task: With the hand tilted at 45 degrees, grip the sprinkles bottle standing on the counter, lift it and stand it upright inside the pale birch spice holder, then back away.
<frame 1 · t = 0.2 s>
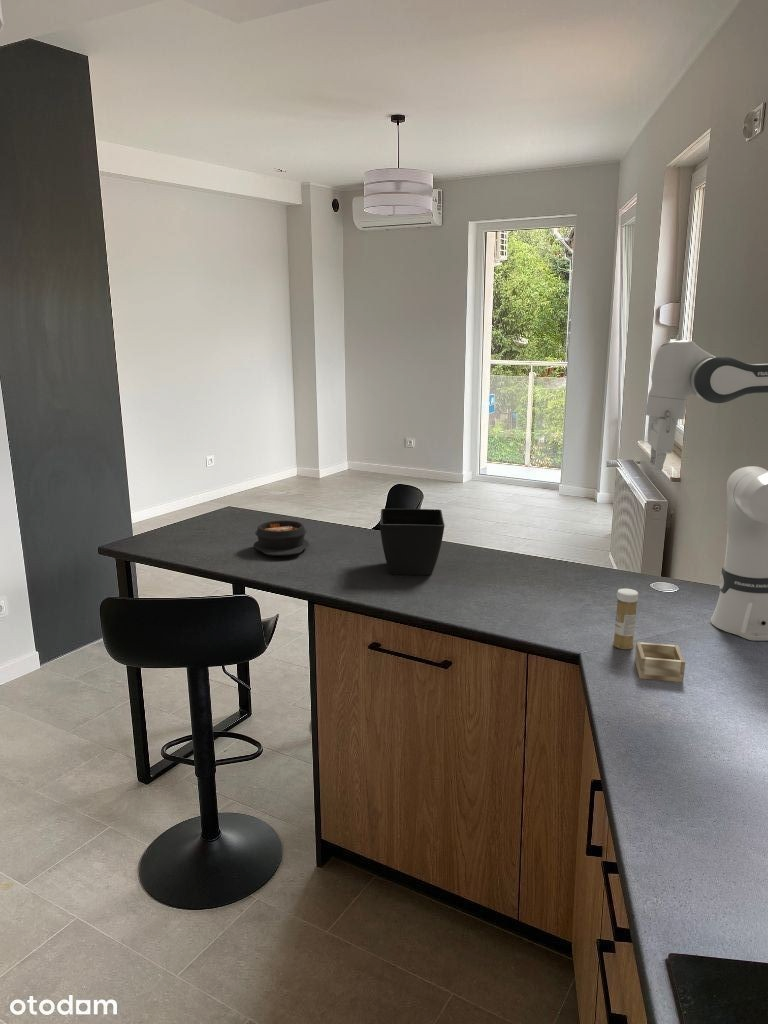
hand: (655, 467, 175), 39 cm above the worktop, tool pointing down, fingers open, 8 cm apart
casserole: (281, 550, 244), on the worktop
sprinkles bottle: (623, 647, 168), on the worktop
flower pot: (411, 569, 224), on the worktop
spice holder: (658, 671, 156), on the worktop
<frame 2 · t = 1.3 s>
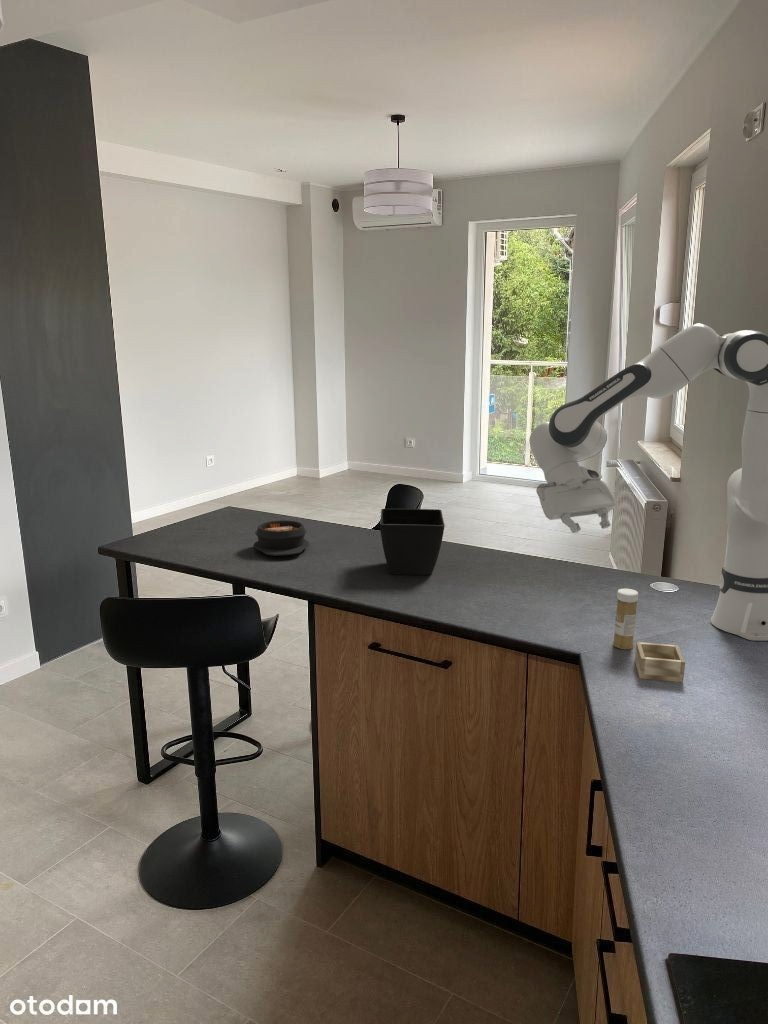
hand: (592, 529, 173), 25 cm above the worktop, tool tilted 45°, fingers open, 8 cm apart
nothing on the worktop moved.
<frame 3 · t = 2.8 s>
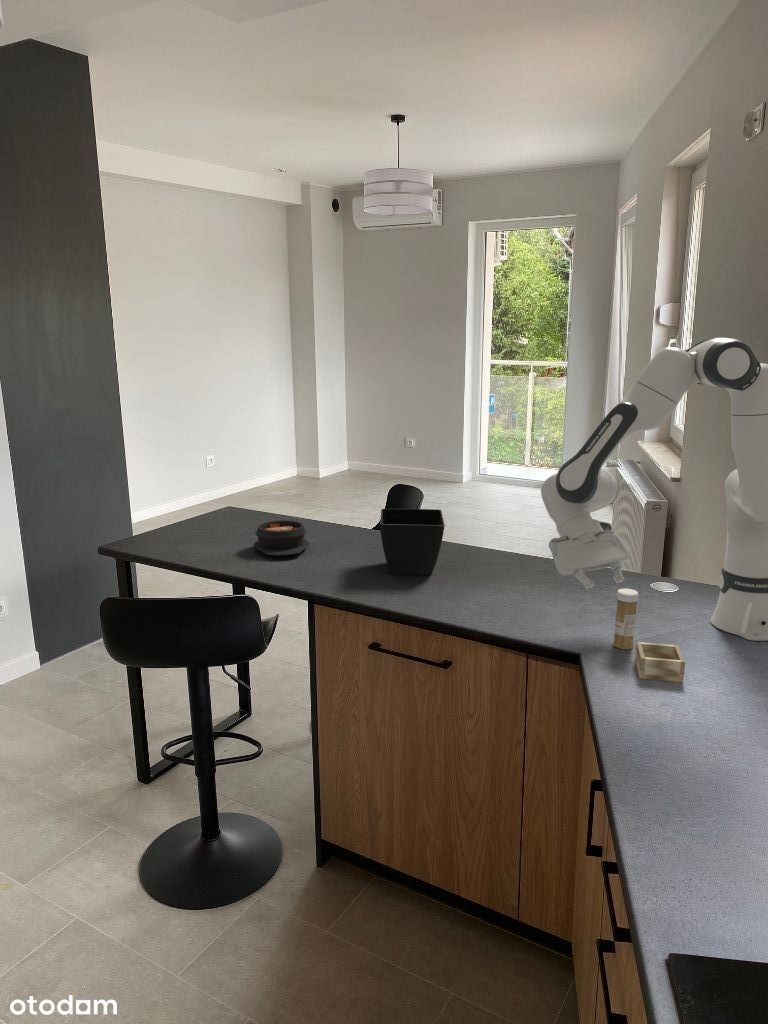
hand: (605, 584, 171), 13 cm above the worktop, tool tilted 45°, fingers open, 8 cm apart
nothing on the worktop moved.
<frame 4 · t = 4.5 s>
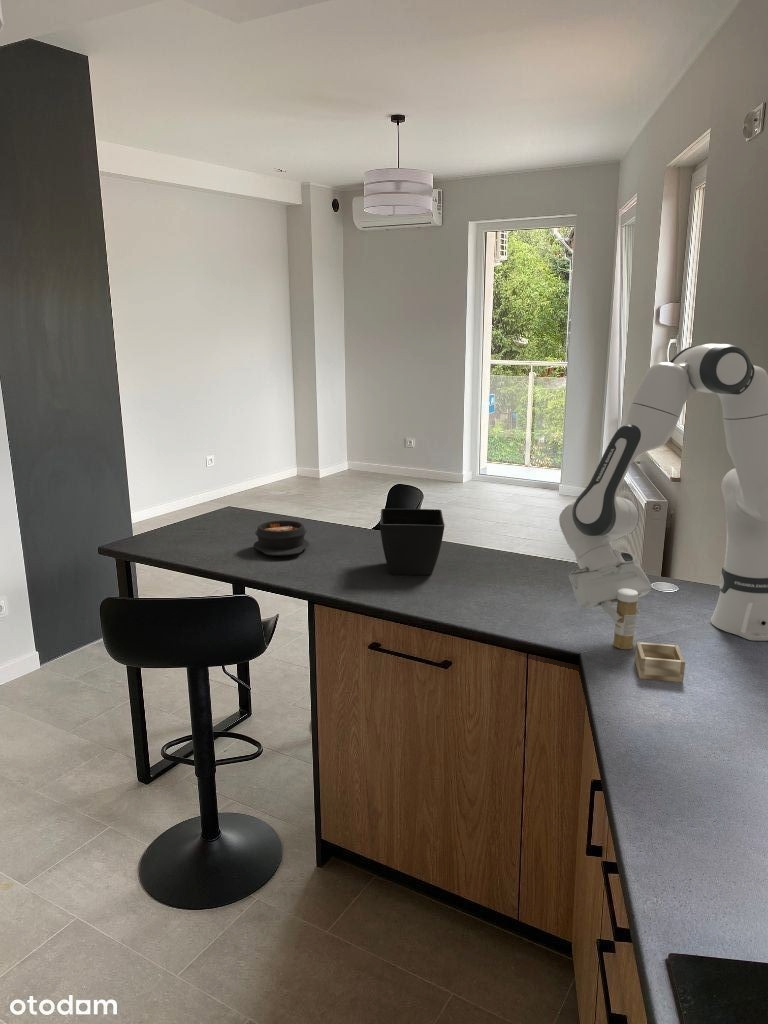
hand: (627, 617, 166), 7 cm above the worktop, tool tilted 45°, fingers closed on sprinkles bottle, 4 cm apart
sprinkles bottle: (623, 646, 168), on the worktop, touching gripper
everything else where it was.
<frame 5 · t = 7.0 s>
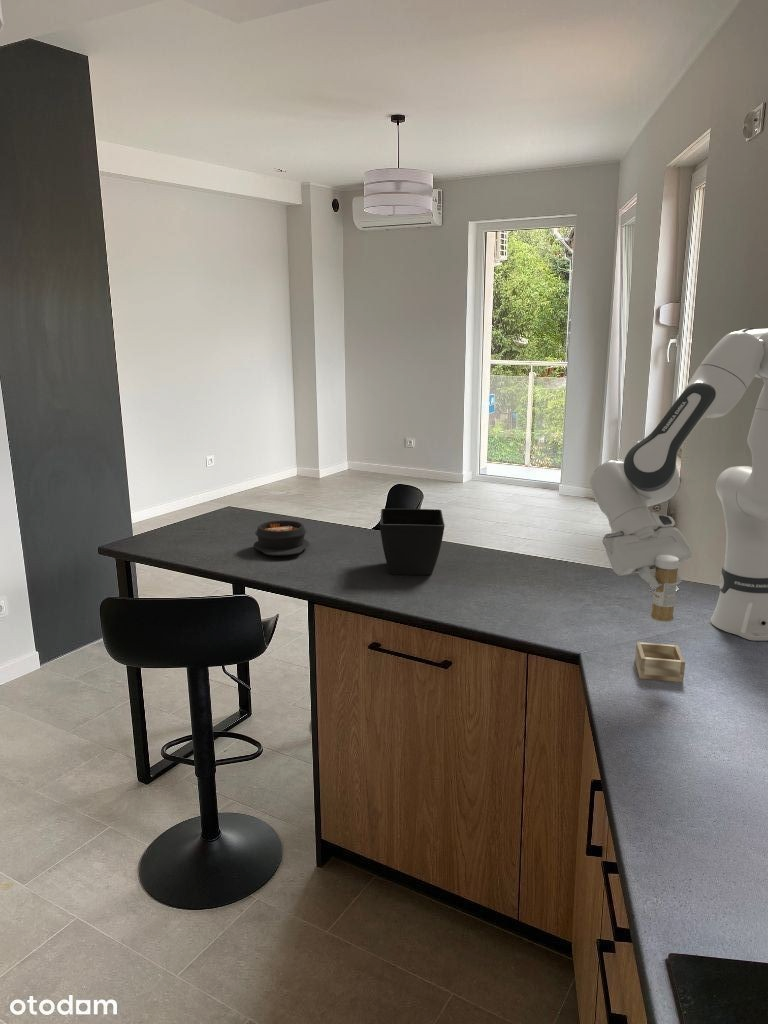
hand: (667, 585, 151), 19 cm above the worktop, tool tilted 45°, fingers closed on sprinkles bottle, 4 cm apart
sprinkles bottle: (661, 619, 153), point 12 cm above the worktop, touching gripper
everything else where it was.
when the fingers open (10 cm above the worktop, at t = 9.7 s): sprinkles bottle stays where it is, resting on spice holder.
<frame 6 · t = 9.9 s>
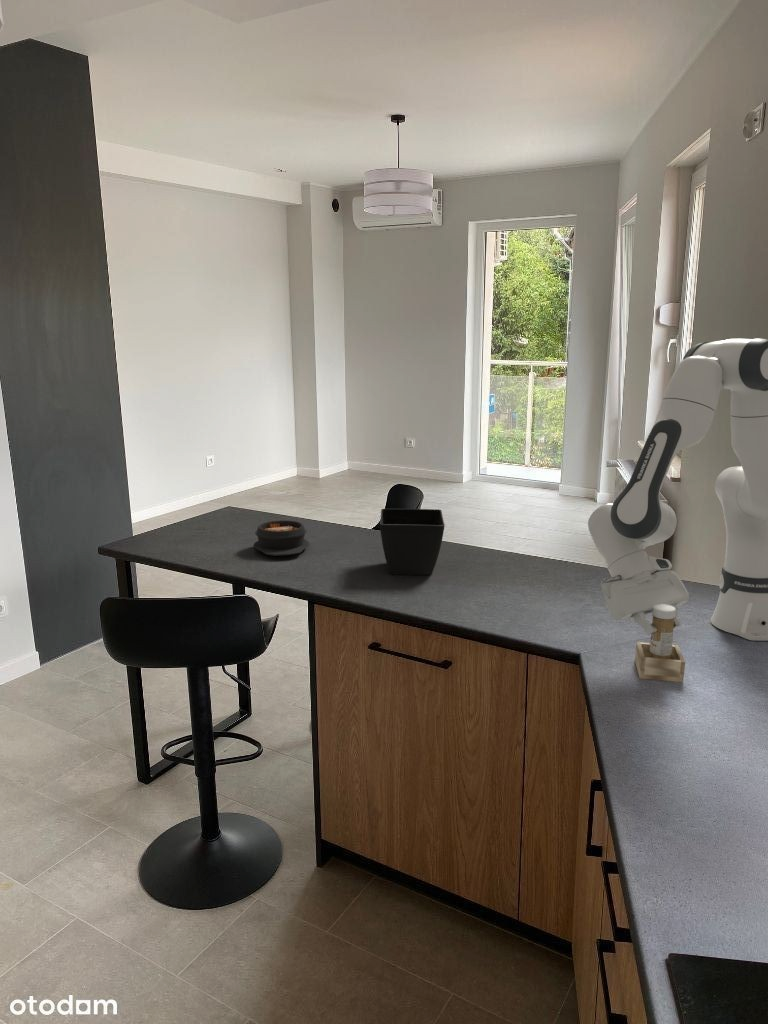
hand: (664, 630, 153), 10 cm above the worktop, tool tilted 45°, fingers open, 6 cm apart
sprinkles bottle: (659, 667, 155), point 1 cm above the worktop, touching spice holder
everything else where it was.
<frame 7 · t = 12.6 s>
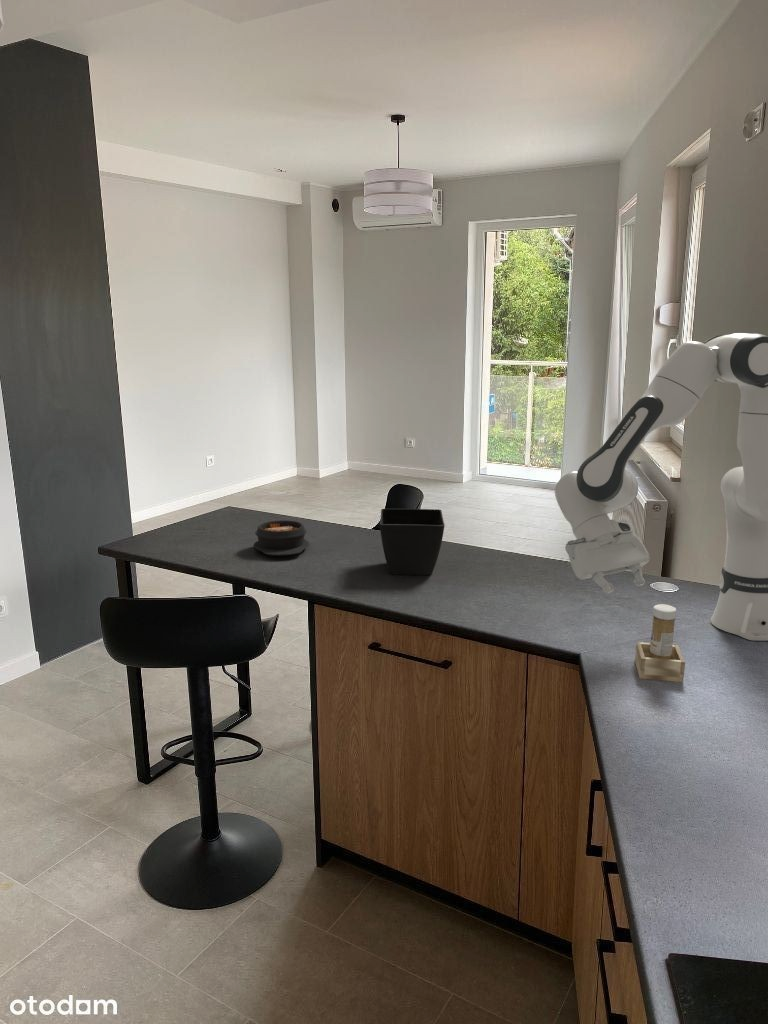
hand: (626, 588, 162), 15 cm above the worktop, tool tilted 45°, fingers open, 8 cm apart
nothing on the worktop moved.
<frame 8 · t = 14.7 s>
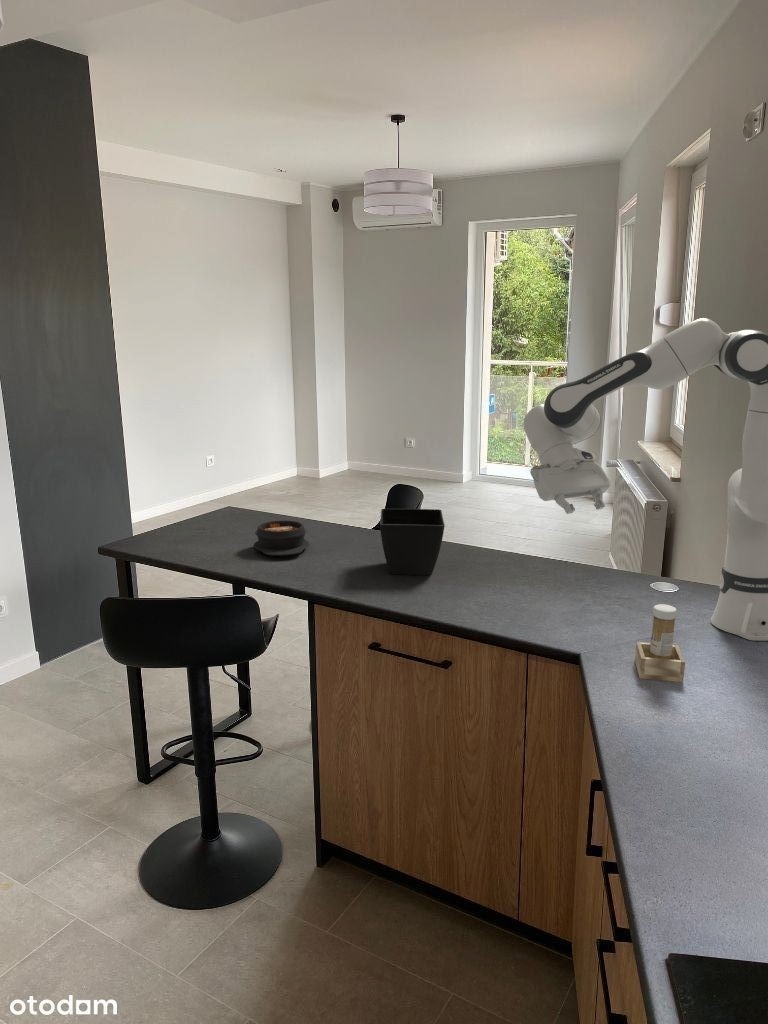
hand: (586, 510, 173), 29 cm above the worktop, tool tilted 45°, fingers open, 8 cm apart
nothing on the worktop moved.
at the end: sprinkles bottle 0.1 cm off-centre on the spice holder, point 0.9 cm above the spice holder's base; sprinkles bottle tilted 0°; the gripper is holding nothing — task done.
